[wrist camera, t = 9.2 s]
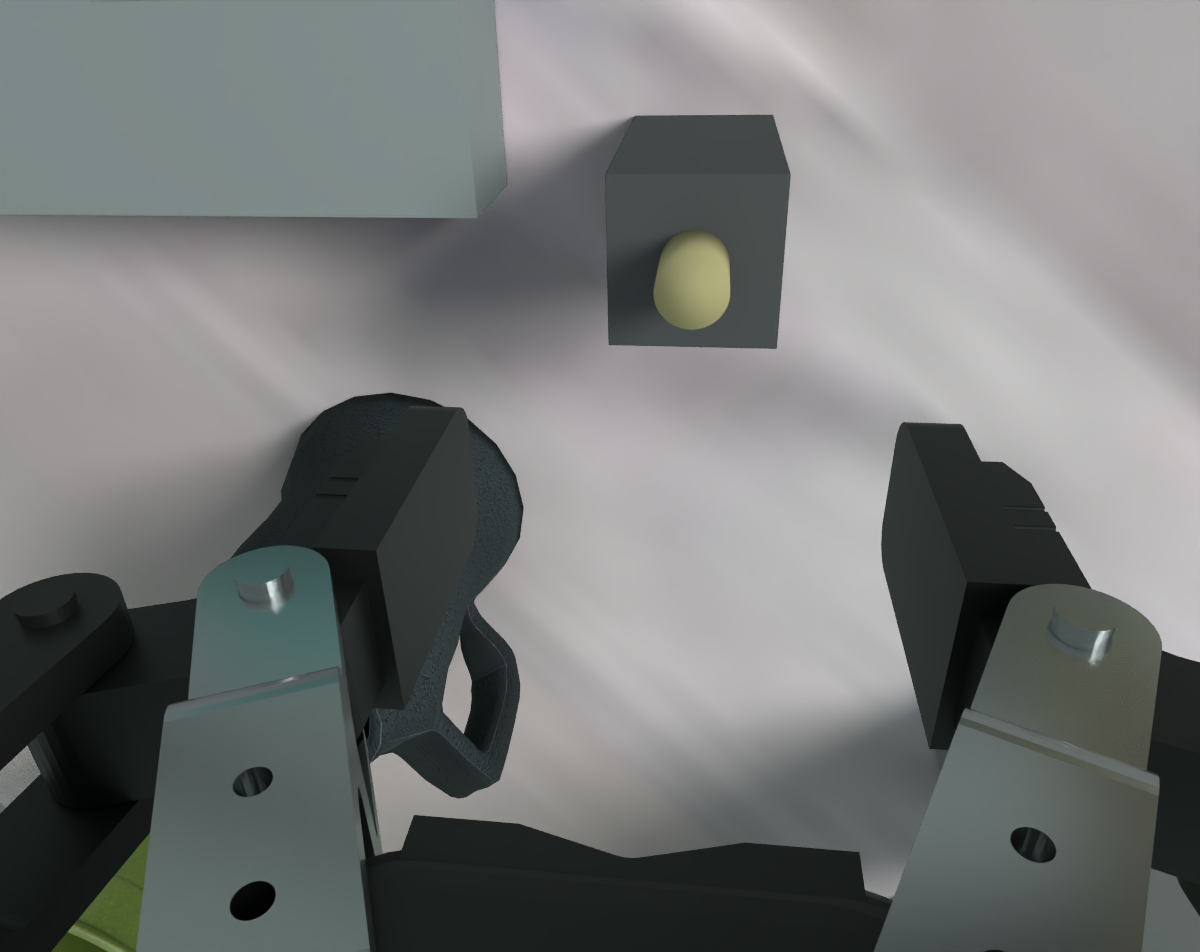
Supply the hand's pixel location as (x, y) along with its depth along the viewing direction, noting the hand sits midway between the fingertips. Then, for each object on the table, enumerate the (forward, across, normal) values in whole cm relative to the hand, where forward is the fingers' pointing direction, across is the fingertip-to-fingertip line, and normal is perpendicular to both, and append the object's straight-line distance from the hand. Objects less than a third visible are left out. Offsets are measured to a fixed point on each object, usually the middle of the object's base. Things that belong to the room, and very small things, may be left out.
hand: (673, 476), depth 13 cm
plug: (+18, 0, 0) cm, 18 cm away
